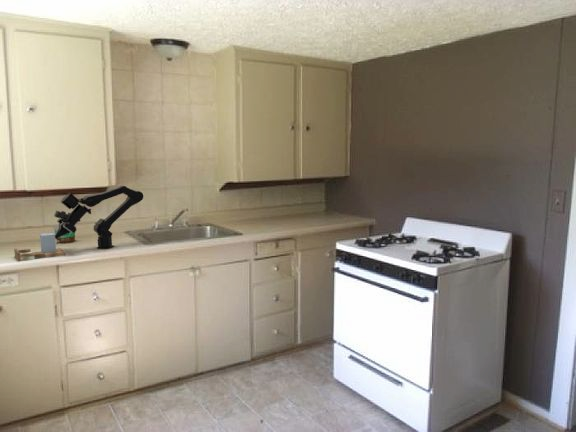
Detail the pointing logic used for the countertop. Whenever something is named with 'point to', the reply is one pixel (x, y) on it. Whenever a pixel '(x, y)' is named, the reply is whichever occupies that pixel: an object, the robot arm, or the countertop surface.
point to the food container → (65, 236)
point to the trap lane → (36, 254)
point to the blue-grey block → (48, 243)
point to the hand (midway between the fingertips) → (54, 238)
